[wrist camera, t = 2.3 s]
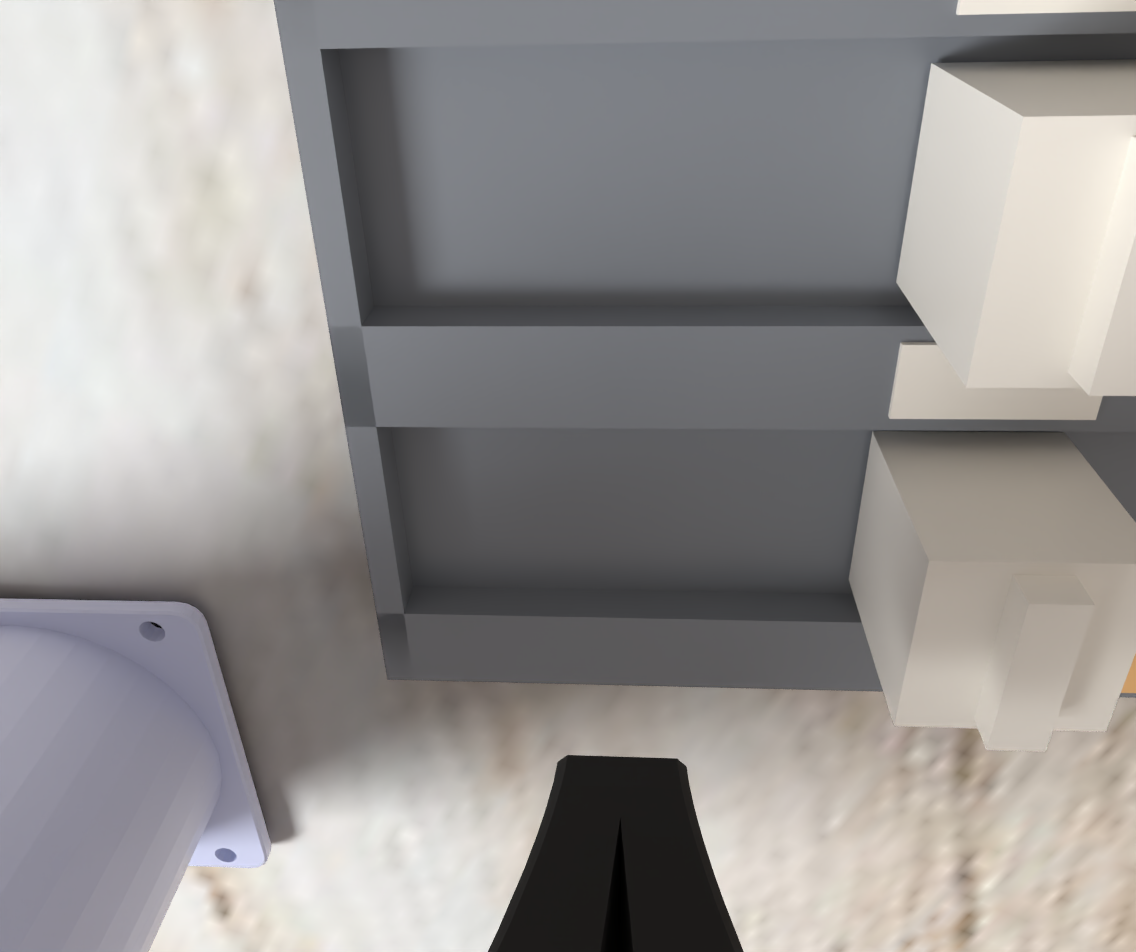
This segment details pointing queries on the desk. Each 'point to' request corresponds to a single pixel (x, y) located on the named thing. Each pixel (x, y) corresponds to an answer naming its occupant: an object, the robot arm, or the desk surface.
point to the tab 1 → (1027, 223)
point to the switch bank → (641, 317)
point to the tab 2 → (994, 584)
